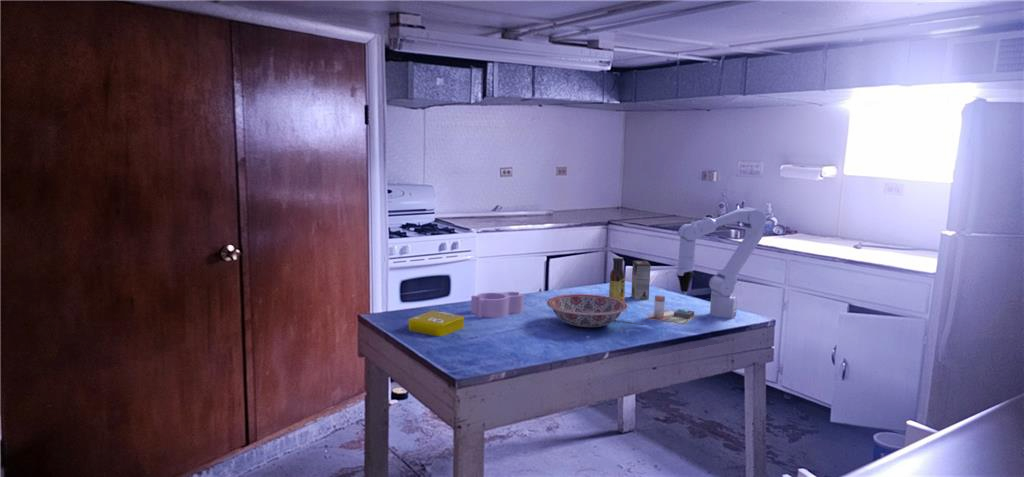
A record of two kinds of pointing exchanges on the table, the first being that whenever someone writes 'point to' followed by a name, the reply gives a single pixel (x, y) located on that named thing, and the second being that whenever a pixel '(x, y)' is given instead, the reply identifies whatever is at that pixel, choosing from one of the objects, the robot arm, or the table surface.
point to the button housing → (683, 314)
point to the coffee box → (640, 280)
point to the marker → (659, 306)
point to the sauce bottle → (617, 280)
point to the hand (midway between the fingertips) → (684, 291)
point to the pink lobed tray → (497, 304)
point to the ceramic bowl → (586, 309)
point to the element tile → (436, 323)
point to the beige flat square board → (671, 318)
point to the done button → (684, 311)
